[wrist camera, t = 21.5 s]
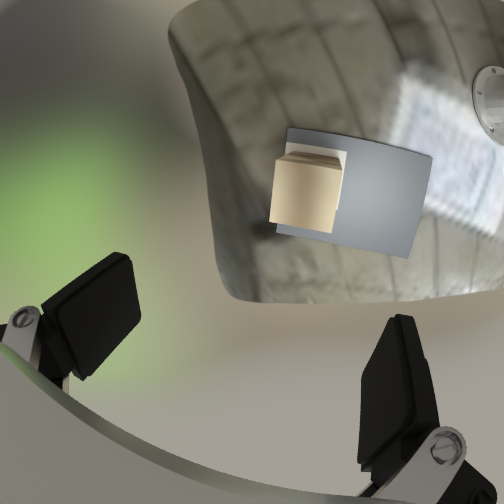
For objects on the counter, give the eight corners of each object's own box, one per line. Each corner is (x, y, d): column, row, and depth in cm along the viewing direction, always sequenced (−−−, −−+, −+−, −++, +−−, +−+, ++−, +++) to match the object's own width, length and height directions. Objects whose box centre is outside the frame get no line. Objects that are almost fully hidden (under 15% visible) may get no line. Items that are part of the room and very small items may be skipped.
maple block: (340, 163, 28) (342, 170, 22) (331, 214, 30) (331, 233, 25) (286, 154, 29) (275, 159, 24) (280, 205, 32) (269, 221, 26)
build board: (431, 157, 29) (432, 158, 29) (406, 257, 36) (407, 259, 35) (288, 127, 34) (287, 127, 33) (277, 231, 40) (276, 232, 40)
